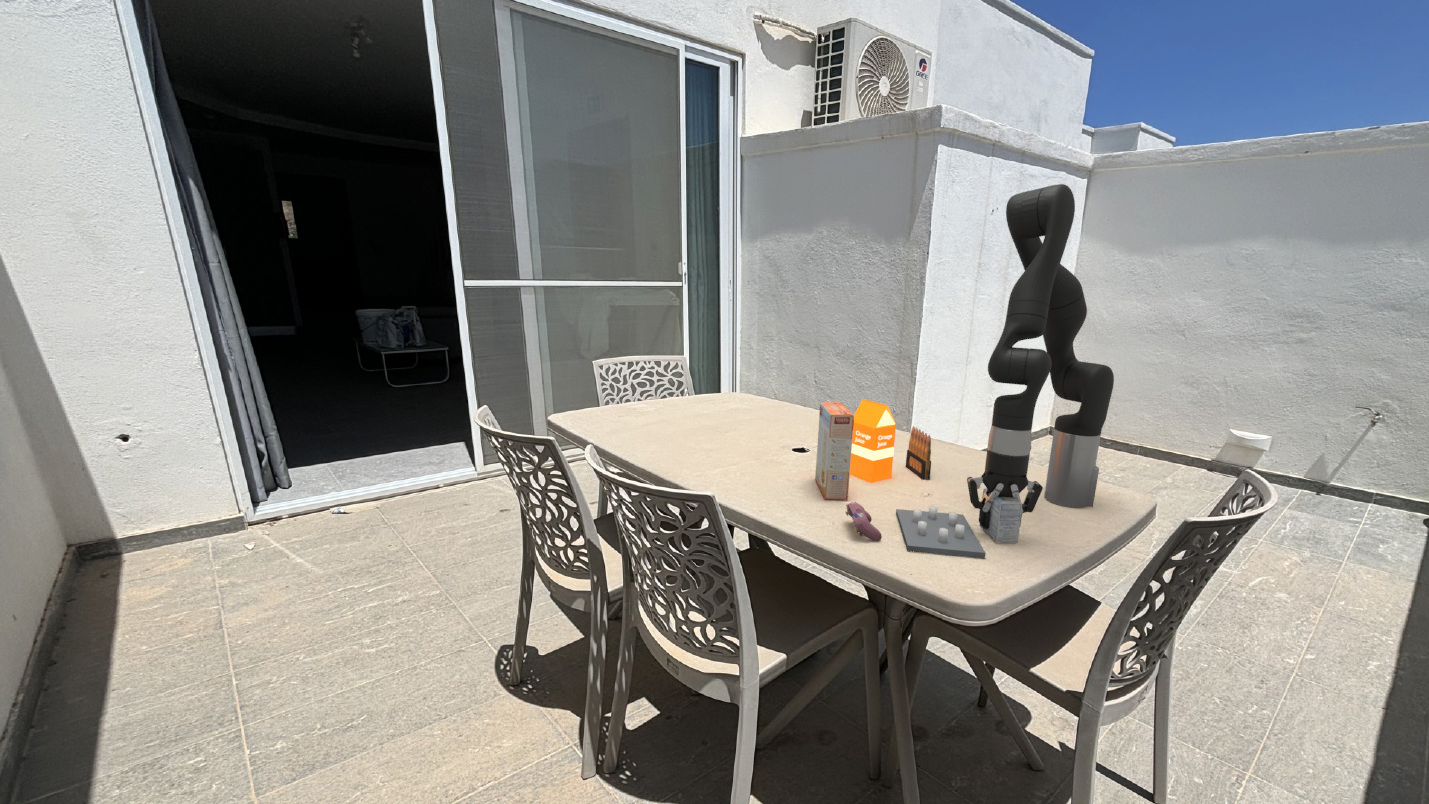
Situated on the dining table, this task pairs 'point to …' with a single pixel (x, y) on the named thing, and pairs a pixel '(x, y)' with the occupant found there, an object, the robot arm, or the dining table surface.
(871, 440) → the orange juice
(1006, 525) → the medicine box
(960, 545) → the stub jig
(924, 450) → the ammunition clip
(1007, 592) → the dining table surface
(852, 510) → the video game controller
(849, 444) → the cracker box
